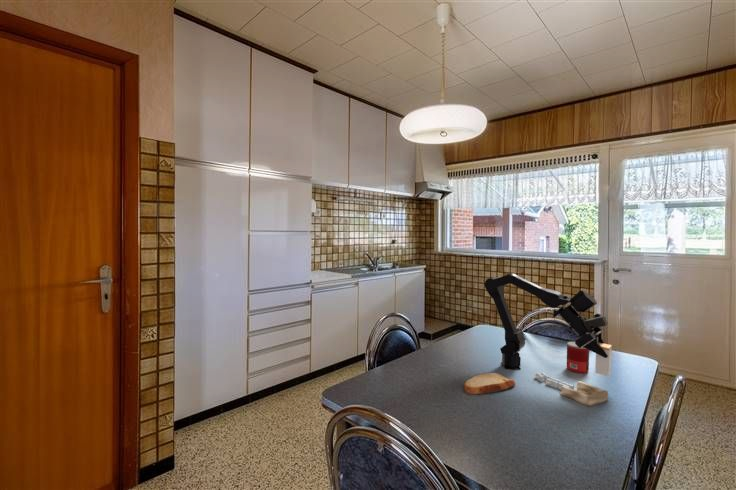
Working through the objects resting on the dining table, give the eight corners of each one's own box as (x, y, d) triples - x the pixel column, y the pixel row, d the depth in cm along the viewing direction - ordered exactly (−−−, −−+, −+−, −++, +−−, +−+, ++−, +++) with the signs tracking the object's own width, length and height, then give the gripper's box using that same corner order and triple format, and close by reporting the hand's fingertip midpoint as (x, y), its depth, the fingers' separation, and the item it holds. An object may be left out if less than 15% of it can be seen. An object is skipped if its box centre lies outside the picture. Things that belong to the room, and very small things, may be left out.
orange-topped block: (595, 372, 125) (596, 345, 125) (598, 369, 129) (598, 342, 129) (608, 376, 122) (609, 348, 122) (611, 372, 126) (611, 345, 126)
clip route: (563, 394, 123) (563, 388, 123) (530, 378, 137) (530, 373, 137) (575, 391, 125) (576, 385, 125) (542, 375, 139) (542, 371, 139)
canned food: (591, 374, 141) (592, 347, 140) (570, 372, 142) (571, 346, 142) (584, 367, 148) (584, 342, 148) (563, 366, 150) (564, 340, 150)
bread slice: (462, 393, 124) (462, 383, 124) (467, 375, 141) (467, 365, 141) (516, 402, 118) (516, 391, 117) (514, 381, 134) (514, 372, 134)
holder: (559, 393, 123) (559, 385, 123) (577, 388, 128) (577, 380, 128) (589, 406, 114) (589, 397, 114) (607, 400, 119) (607, 391, 119)
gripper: (586, 311, 121) (624, 349, 114) (597, 303, 134) (631, 337, 127) (561, 329, 126) (595, 366, 119) (573, 320, 140) (605, 353, 133)
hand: (608, 355), depth 125 cm, fingers closed on orange-topped block, 5 cm apart
